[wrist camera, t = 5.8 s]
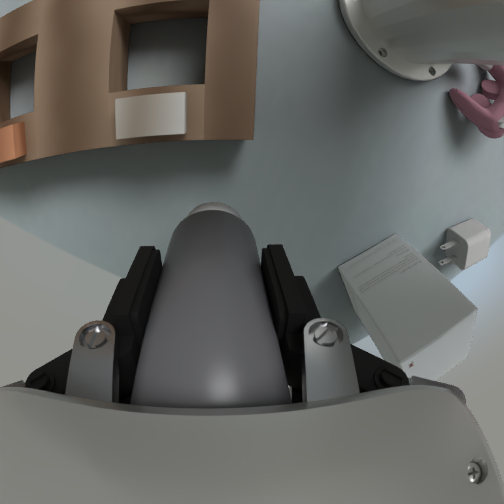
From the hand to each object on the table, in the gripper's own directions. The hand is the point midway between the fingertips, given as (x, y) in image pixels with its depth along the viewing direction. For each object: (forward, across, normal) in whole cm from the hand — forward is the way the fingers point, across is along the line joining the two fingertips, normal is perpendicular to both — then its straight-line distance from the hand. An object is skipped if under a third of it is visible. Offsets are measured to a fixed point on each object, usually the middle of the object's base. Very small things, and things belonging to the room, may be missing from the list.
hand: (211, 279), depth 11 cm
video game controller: (+13, -26, -13) cm, 32 cm away
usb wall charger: (+13, -26, +5) cm, 30 cm away
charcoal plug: (+4, 0, 0) cm, 4 cm away
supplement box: (+13, -16, +9) cm, 22 cm away
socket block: (+12, +10, -11) cm, 19 cm away
